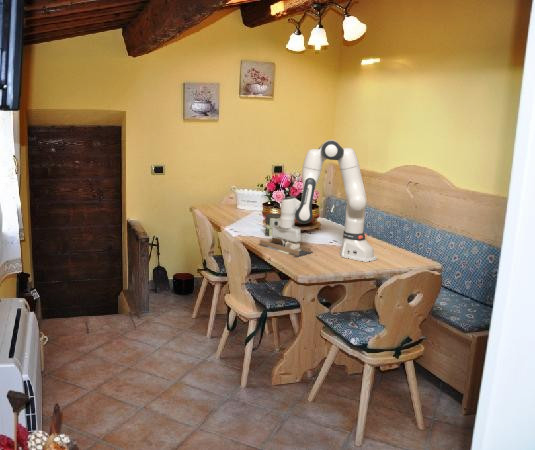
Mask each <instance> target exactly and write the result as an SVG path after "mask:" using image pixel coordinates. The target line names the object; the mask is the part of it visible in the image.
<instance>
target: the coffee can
mask: <svg viewBox="0 0 535 450" xmlns="http://www.w3.org/2000/svg"><path fill="white" fill-rule="evenodd" d="M265 217H266V218H265V230H264V231H265V233H264V234H265V237H266V238H267V237H274V236H273V235H272V227H273V221H277V220H280V217H281V213H280V214H279V213H275V212H274V213H271V212H270V213H266V215H265Z"/></svg>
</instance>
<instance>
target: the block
mask: <svg viewBox="0 0 535 450" xmlns="http://www.w3.org/2000/svg"><path fill="white" fill-rule="evenodd" d="M300 245H301V243H300V242H297V243H296V242H292V241H290V242H286V244H285V247H287V248H290V249H294V250H297V251H299V249H300Z"/></svg>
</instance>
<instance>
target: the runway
mask: <svg viewBox="0 0 535 450" xmlns="http://www.w3.org/2000/svg"><path fill="white" fill-rule="evenodd" d="M285 242H287V241H286V240H285ZM257 245H258V246H261V247H264V248H268V249H271V250H274V251H277V252H281V253H284V254H286V255H287V254H288V255H290V256H292V257H293V258H294V257H297V258H300V257H303V256H307V254H308V255H311V253H312V254H313V253H314V251H312V248H311V247H309V246H305V245H302V244H300V249H299V251H297V250H294V249H290V248H287V247H285V246H283V242H282V238H278V237H275V236H272V238H271V241H266V240H264V239H260V240H259V243H258V244H257ZM299 256H300V257H299Z"/></svg>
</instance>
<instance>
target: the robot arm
mask: <svg viewBox="0 0 535 450" xmlns="http://www.w3.org/2000/svg"><path fill="white" fill-rule="evenodd" d="M326 160H330V161H337V162H338V165H339V170H340V174H341V178H342V179H341V180H342V184H343V187H344V192H345V198H346V205H345V206H346V207H345V208H346V209H345V218H344V219H345V221H344V230H343V233H342V239H343V240H342V245H341V249H340V251H339V255H340V256H341V258H345V259H348V258H349V259H350V260H354V261H359V262H362V261H363V263H364V262H365V263H369V261H370V262H374V261H376V260H377V259H378V256H377V255H375V251H374V248H373V246H372V245H371V244H370V243H369V242H368V241H367V240H366V237H367V235H368V234H365V232H364V230H365V229H364V228H365V221H366V219H365V216H366V206H367V204H368V198H367V194H366V190H365V186H364V181H363V176H362V172H361V171H362V170H361V169H360V163H359V159H358V157H357V154H356V152H355V150H354V149H353V148H351V147H342V146H341V145H340V143H339V142H338V141H337V140H335V139H327V140H325V141H324V142H323V143H322V144H321V145H320V146H319V147H318V148H311V149H309V150H308V151H307V152H306V155H305V157H304V160H303V164H302V169H301V181H302V190H303V191H302V194H301V195H302V196H301V201H300V200H299V199H297V198H296V197H295V196H287V197H284V198H283V199H282V200H281V204H280V215H281V217H280V220H277V221H273V227H272V235H273V236H272V237H274V238H277V239H281V240H282V242H283V246H285V244H286V242H285V241H287V242H291V241H292V242H296V243H300V242H301V241H302V234H301V231H302V230H301V228H300V227H299V226H297V225H295V222H296V221H297V222H298V223H299V224H302V225H306V224H308V223H310V222H311V221H312V220H313V217H314V213H313V209H312V208H313V206H312V205H313V201H314V195H315V190H316V188H317V185H318V182H319V180H320V177H321V173H322V171H323V164H324V162H325V161H326Z"/></svg>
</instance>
